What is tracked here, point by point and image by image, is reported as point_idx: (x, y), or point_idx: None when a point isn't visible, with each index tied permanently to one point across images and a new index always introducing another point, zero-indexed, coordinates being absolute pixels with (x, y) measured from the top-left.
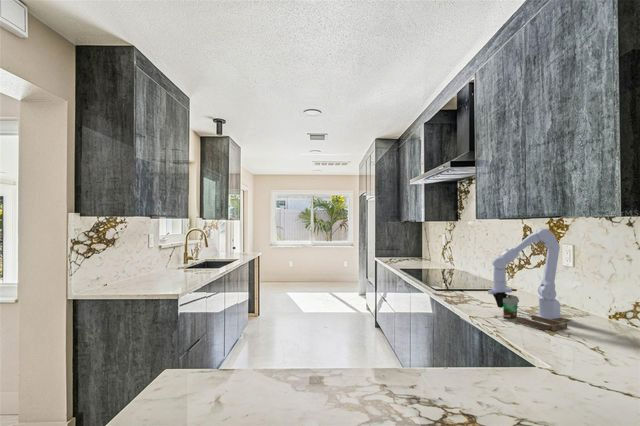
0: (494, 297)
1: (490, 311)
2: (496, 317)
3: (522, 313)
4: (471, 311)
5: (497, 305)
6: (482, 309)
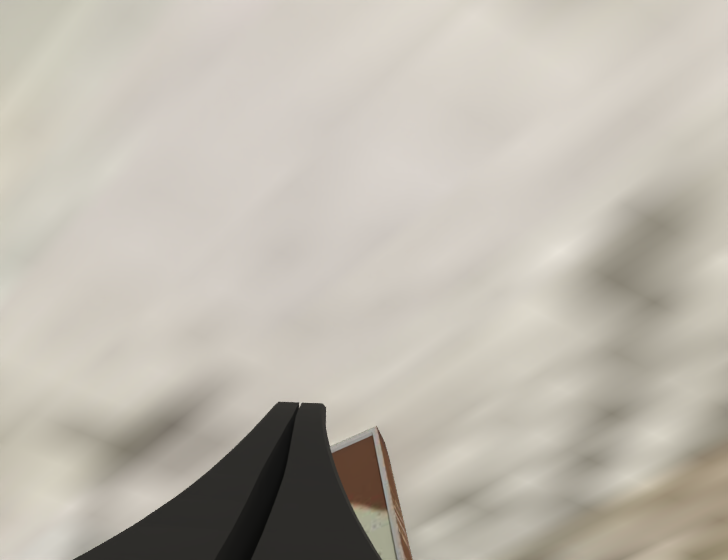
0: (127, 532)
1: (310, 213)
2: (130, 462)
3: (579, 467)
4: (20, 66)
5: (267, 416)
6: (304, 41)
